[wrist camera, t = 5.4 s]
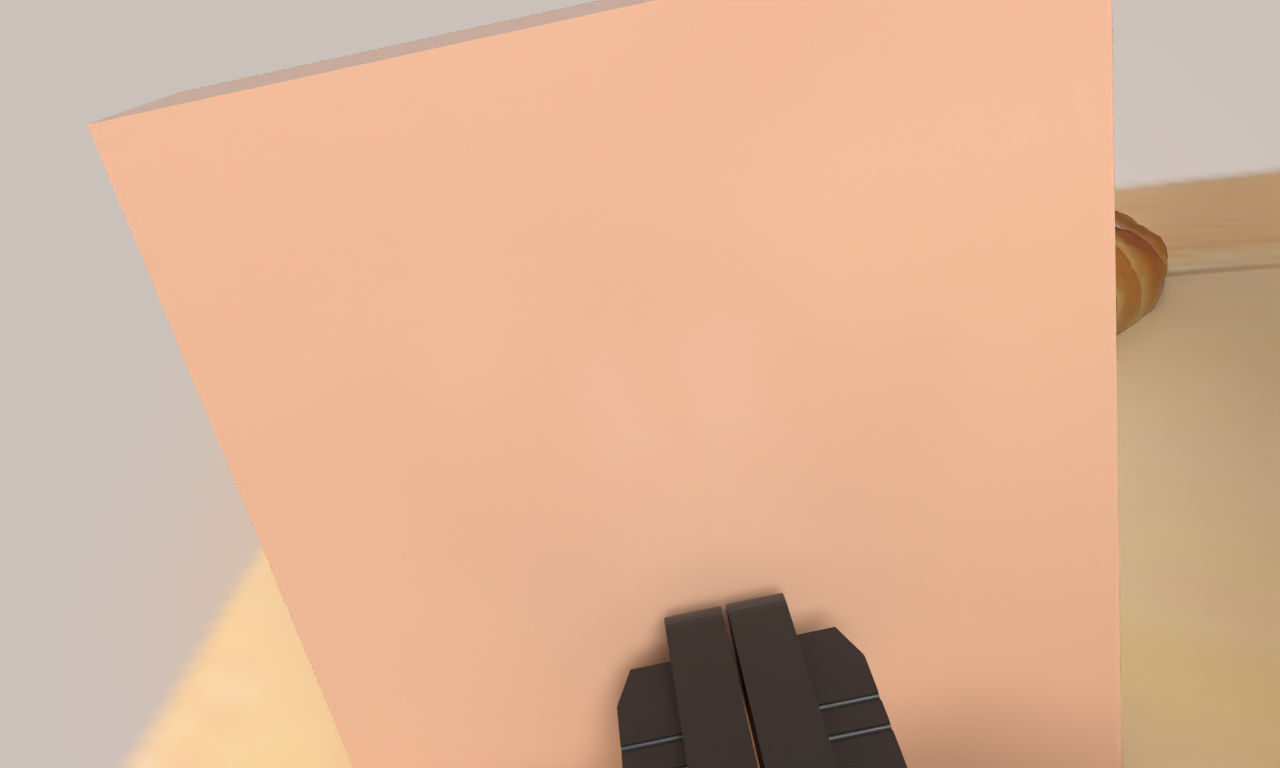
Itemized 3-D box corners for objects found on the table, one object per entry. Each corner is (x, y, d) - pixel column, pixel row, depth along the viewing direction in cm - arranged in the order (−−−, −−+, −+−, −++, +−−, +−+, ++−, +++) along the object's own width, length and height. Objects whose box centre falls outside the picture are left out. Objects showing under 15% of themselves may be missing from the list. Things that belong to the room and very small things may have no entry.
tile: (1045, 783, 18) (999, -89, 12) (1123, 919, 15) (1111, -101, 10) (483, 897, 18) (184, 90, 12) (470, 1050, 15) (87, 124, 10)
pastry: (1066, 242, 35) (1071, 137, 33) (1230, 316, 30) (1248, 195, 28) (832, 331, 33) (822, 224, 31) (962, 428, 28) (960, 306, 26)
